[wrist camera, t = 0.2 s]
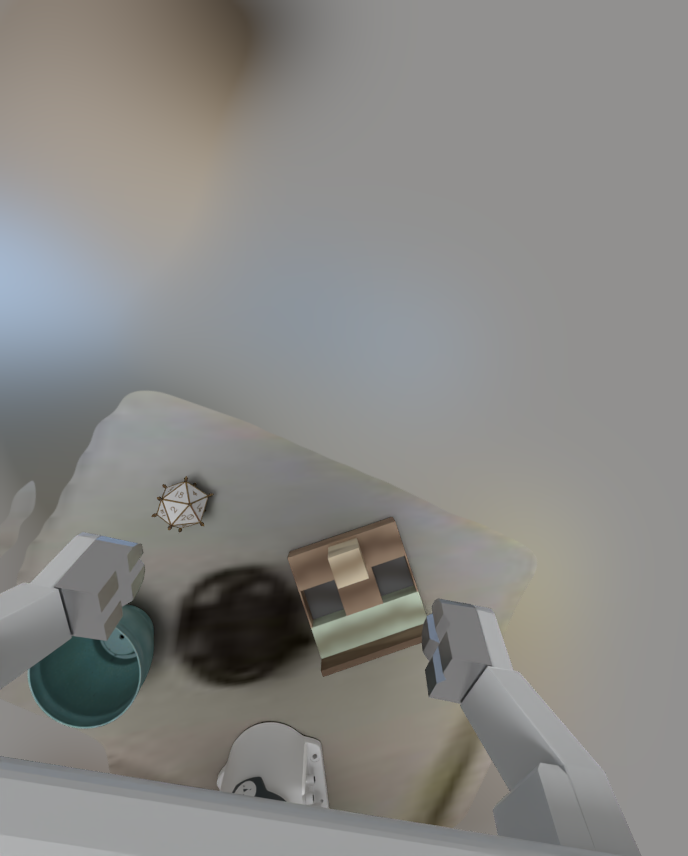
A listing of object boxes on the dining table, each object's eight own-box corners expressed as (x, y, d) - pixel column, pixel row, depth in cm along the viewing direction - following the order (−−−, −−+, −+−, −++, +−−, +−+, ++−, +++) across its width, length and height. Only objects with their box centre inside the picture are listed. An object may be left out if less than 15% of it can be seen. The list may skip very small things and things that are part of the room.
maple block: (366, 565, 61) (368, 578, 56) (337, 575, 61) (338, 588, 56) (356, 537, 61) (358, 547, 56) (328, 547, 61) (327, 558, 56)
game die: (208, 488, 67) (227, 484, 59) (194, 535, 64) (211, 538, 56) (157, 474, 62) (170, 468, 55) (139, 525, 59) (150, 526, 52)
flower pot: (104, 693, 63) (57, 748, 52) (63, 610, 63) (6, 649, 52) (189, 651, 64) (160, 698, 53) (148, 569, 63) (110, 599, 52)
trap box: (425, 617, 65) (435, 637, 59) (324, 653, 64) (322, 677, 58) (392, 516, 64) (398, 526, 58) (289, 551, 64) (284, 564, 58)
